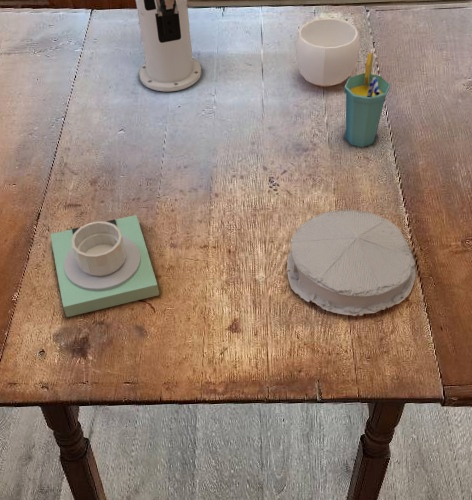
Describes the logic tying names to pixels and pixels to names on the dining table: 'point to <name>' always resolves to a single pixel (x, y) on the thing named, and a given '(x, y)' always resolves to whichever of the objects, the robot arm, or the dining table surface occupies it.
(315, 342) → the dining table surface
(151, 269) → the scale
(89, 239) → the bowl
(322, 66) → the cup
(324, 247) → the grey round cake
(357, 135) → the cup
